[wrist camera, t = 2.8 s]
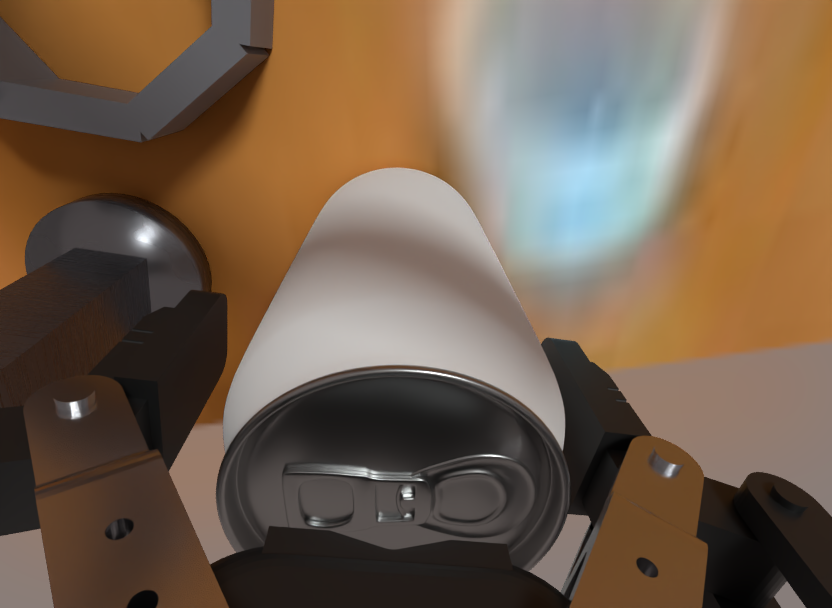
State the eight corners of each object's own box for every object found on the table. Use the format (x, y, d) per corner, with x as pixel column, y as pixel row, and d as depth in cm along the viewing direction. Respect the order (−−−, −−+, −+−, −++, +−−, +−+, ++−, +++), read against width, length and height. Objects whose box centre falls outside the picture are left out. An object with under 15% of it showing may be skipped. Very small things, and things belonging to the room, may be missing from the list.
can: (474, 323, 20) (562, 628, 9) (318, 322, 20) (222, 635, 9) (488, 166, 17) (644, 342, 6) (306, 162, 17) (138, 340, 6)
